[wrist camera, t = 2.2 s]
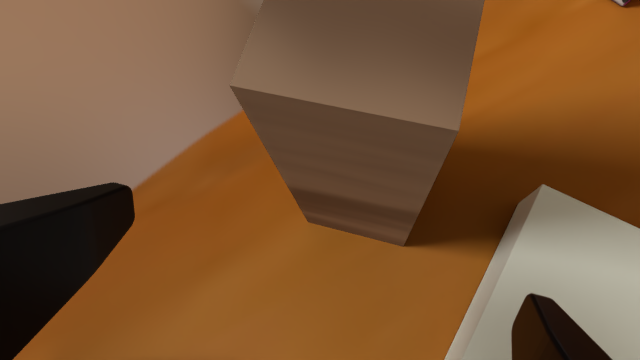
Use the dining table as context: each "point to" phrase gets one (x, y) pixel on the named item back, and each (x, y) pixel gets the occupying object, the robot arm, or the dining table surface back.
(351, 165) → the walnut block
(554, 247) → the sage base
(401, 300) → the dining table surface
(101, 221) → the robot arm
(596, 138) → the dining table surface
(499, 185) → the dining table surface
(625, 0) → the candy bar box
